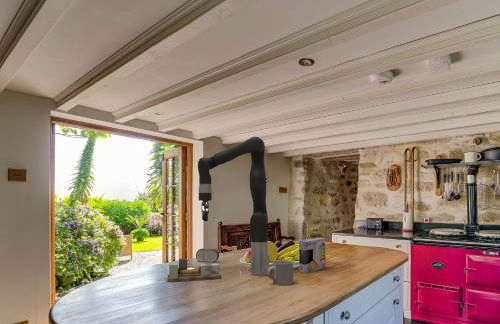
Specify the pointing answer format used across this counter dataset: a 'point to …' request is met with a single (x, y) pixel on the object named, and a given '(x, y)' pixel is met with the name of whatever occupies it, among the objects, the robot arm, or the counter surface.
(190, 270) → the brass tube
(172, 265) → the socket block
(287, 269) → the coffee mug
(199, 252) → the tin
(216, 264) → the stand
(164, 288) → the counter surface
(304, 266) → the cake pan box
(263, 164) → the robot arm
